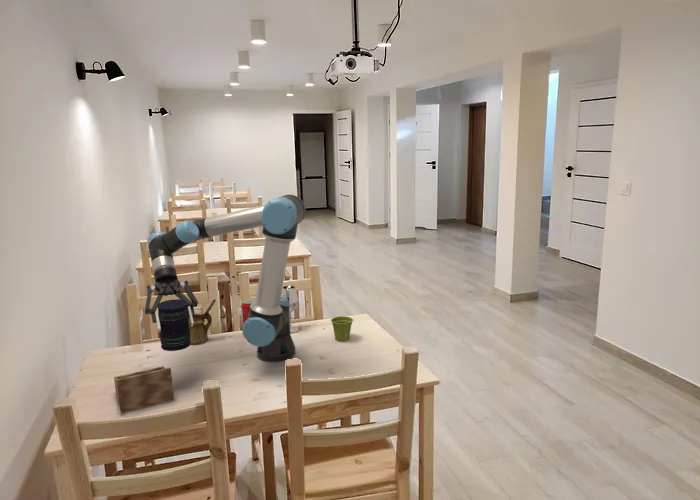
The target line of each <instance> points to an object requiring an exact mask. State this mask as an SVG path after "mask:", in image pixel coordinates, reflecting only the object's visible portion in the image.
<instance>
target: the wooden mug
mask: <svg viewBox="0 0 700 500" xmlns="http://www.w3.org/2000/svg"><path fill="white" fill-rule="evenodd" d="M215 303H216V299H213V300H212V301H211V302H210V304H209V305H208V307H207V308H206V310H205V312H203V313H201V314H200V313H195V314H194V317H193V322H194V324H193V327H191V326H190V321H189V319H188V322H189V328H190V335H191V337H190V341H191V345H190V346H197V345H202V344H205V343H206V342H208V340H209V335H208V330H209V329H210V326H211V325H212V321H213V319H212V318H213V317H212V315H211V314H210V313H209V312H210V311H211V309H212V308H213V306H214V305H215ZM206 321H207V323H206V324H205V322H206Z"/></svg>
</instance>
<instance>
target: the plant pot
mask: <svg viewBox="0 0 700 500" xmlns="http://www.w3.org/2000/svg"><path fill="white" fill-rule="evenodd" d="M330 322H331V324H332V328H333V333H334V339H335V340H336V341H338V342H346V341H349V340H350V338H351V337H350V336H351V330H352V324H353V322H354V318H352V317H350V316H345V315H344V316H343V315H341V316H334V317H332V318H331V319H330Z"/></svg>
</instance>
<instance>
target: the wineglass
mask: <svg viewBox="0 0 700 500" xmlns="http://www.w3.org/2000/svg"><path fill="white" fill-rule="evenodd" d="M281 297H283V298H286V299H288V301H289V306H290V307H289V313H290V334H294V333H293V332H295V333H297V332H299V331H298V328H299V327H297V326H292V313H293V312H295V310H297V308H298V305H299V297H298V292H297V289H296V286H295V285H285V286H282V291H281ZM296 327H297V328H296ZM296 331H297V332H296Z"/></svg>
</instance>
